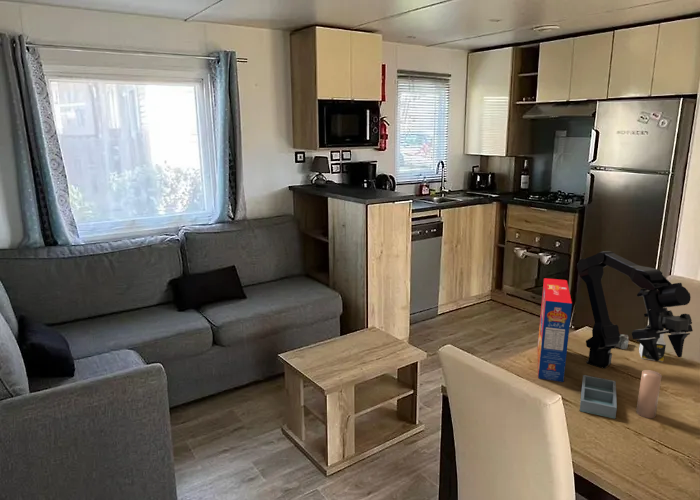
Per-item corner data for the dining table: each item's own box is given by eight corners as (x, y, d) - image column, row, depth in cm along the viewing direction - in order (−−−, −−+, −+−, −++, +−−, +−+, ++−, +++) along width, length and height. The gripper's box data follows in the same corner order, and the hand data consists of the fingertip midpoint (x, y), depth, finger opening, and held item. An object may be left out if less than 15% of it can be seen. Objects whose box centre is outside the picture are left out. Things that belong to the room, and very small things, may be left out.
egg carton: (628, 344, 202) (629, 335, 201) (627, 351, 196) (628, 341, 195) (598, 338, 207) (600, 329, 206) (596, 345, 201) (597, 335, 200)
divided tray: (581, 384, 169) (583, 374, 168) (614, 390, 165) (615, 381, 164) (579, 410, 153) (580, 400, 152) (615, 418, 149) (616, 408, 148)
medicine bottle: (641, 358, 188) (645, 328, 186) (638, 351, 195) (642, 322, 192) (663, 362, 186) (668, 331, 183) (660, 354, 192) (664, 324, 189)
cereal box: (537, 346, 199) (544, 278, 193) (559, 349, 196) (566, 280, 190) (538, 378, 173) (545, 300, 167) (563, 382, 171) (572, 303, 164)
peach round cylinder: (634, 413, 152) (639, 373, 149) (638, 407, 155) (644, 368, 152) (652, 420, 148) (659, 379, 145) (657, 413, 152) (663, 373, 149)
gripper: (655, 309, 149) (668, 363, 146) (702, 302, 155) (715, 354, 152) (625, 312, 160) (637, 363, 157) (670, 306, 165) (682, 355, 162)
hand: (668, 359), depth 157 cm, fingers open, 9 cm apart
